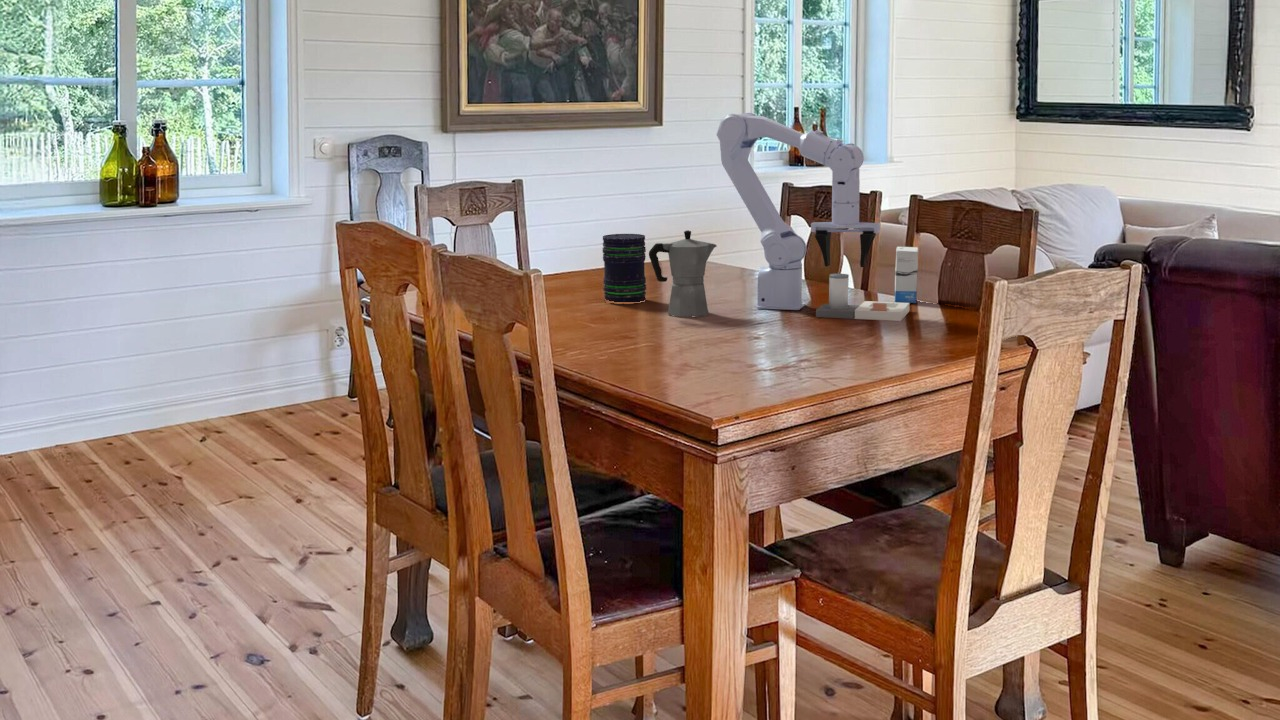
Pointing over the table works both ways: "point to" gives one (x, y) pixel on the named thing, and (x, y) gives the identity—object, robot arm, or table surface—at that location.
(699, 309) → the coffeepot
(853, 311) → the pad
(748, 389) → the table surface
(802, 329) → the table surface
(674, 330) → the table surface
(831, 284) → the cylinder
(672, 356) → the table surface
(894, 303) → the white plate with holes
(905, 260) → the ink box
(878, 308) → the peach rounded piece
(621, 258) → the storage jar
